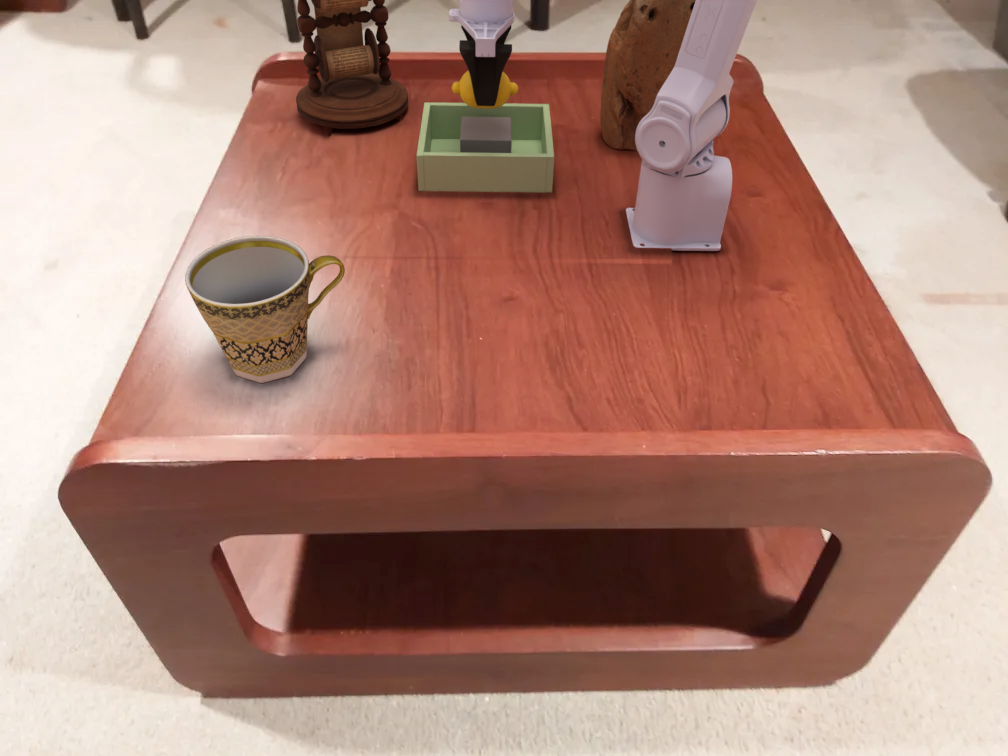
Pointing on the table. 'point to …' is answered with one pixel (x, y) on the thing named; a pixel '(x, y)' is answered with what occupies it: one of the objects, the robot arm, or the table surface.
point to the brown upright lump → (639, 64)
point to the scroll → (347, 67)
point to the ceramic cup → (258, 302)
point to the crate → (485, 171)
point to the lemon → (468, 96)
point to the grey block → (485, 135)
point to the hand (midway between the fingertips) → (486, 95)
